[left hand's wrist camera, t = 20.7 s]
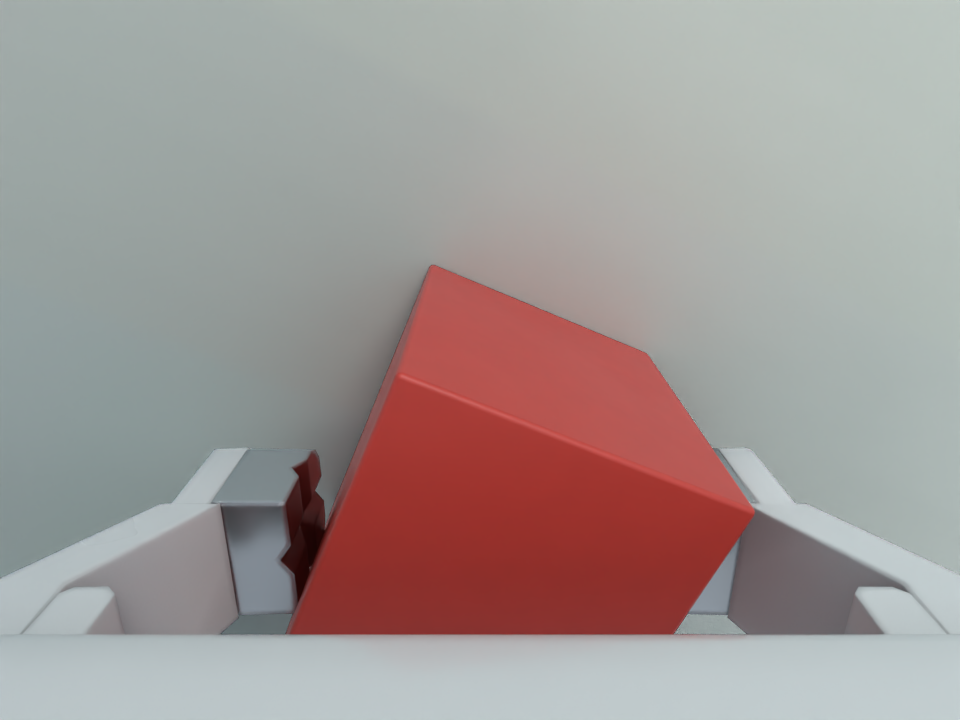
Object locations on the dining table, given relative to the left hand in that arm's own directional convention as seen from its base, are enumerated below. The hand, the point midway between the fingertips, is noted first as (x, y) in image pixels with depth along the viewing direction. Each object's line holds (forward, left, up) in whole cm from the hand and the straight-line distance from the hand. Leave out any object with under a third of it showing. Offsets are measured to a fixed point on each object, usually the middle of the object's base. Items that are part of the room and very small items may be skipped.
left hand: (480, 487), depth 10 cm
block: (0, 0, -2) cm, 2 cm away
